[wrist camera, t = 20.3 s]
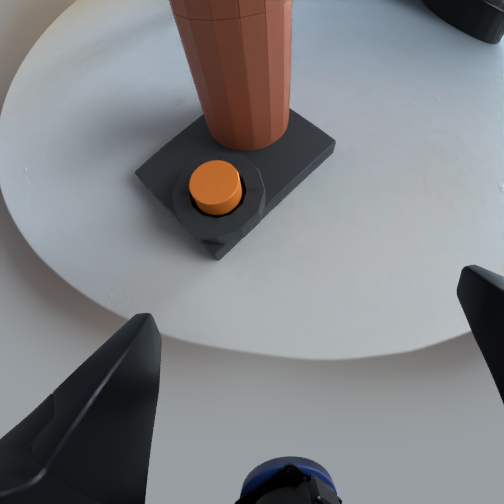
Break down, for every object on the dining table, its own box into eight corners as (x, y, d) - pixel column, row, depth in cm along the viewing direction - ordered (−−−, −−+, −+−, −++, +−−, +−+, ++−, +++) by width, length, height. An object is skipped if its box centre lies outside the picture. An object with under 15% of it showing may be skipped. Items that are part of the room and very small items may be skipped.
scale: (223, 267, 22) (214, 254, 19) (141, 181, 25) (124, 161, 21) (338, 156, 24) (346, 131, 21) (249, 94, 27) (246, 68, 23)
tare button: (216, 225, 20) (211, 214, 18) (185, 195, 21) (179, 183, 19) (252, 192, 20) (250, 179, 19) (220, 165, 21) (215, 151, 19)
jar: (222, 162, 23) (176, 1, 9) (199, 107, 24) (156, -31, 11) (301, 135, 23) (315, -25, 9) (269, 84, 25) (261, -54, 11)
